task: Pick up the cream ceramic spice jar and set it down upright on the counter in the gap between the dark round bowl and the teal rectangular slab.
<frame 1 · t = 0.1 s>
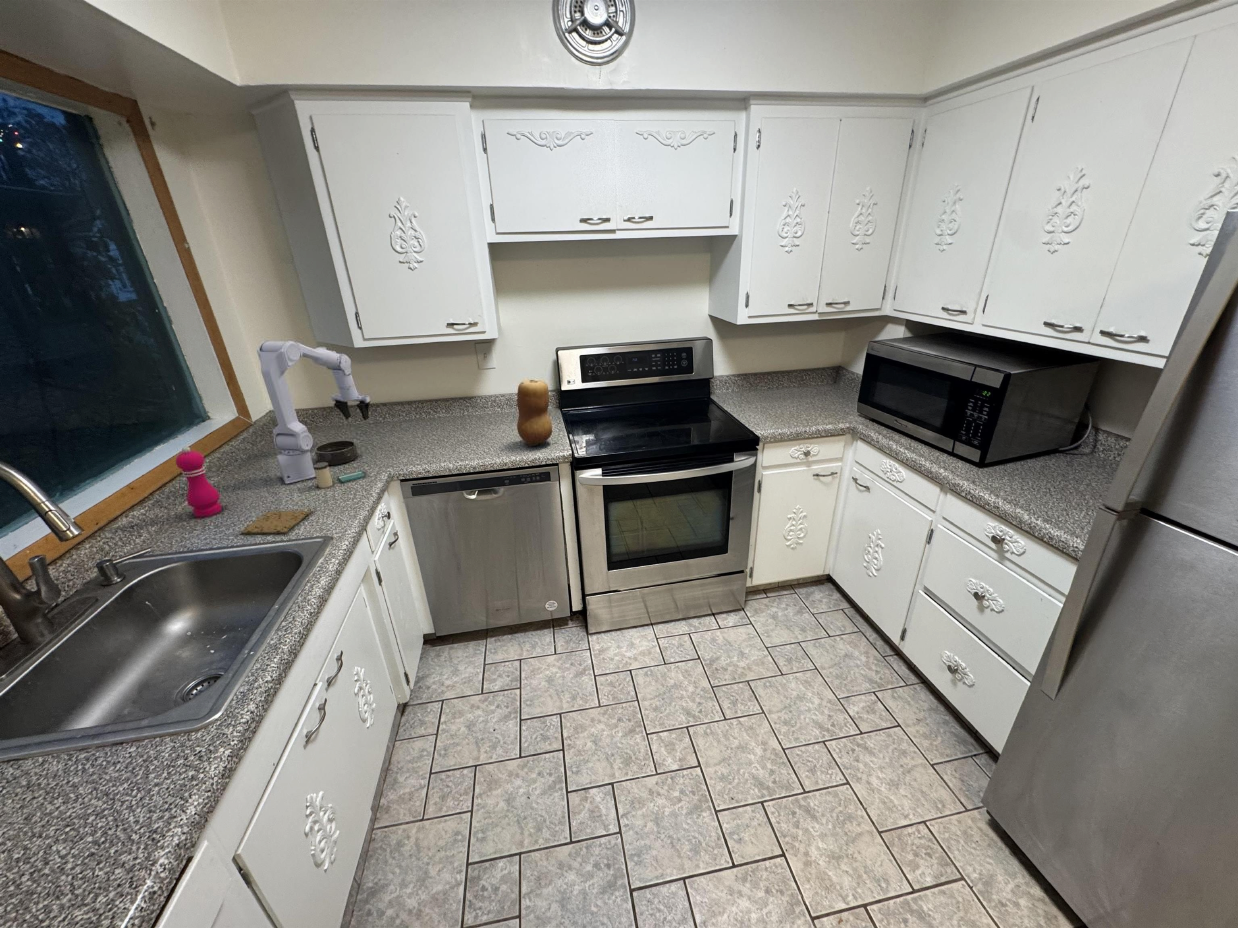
hand: (357, 418, 193), 11 cm above the countertop, tool pointing down, fingers open, 7 cm apart
brown square cork trivet: (277, 523, 138), on the countertop
pepper mill: (208, 512, 145), on the countertop
dark round bowl: (338, 459, 182), on the countertop
spice jar: (325, 485, 161), on the countertop
teal rectangular slab: (351, 477, 167), on the countertop
butternut squash: (535, 444, 196), on the countertop
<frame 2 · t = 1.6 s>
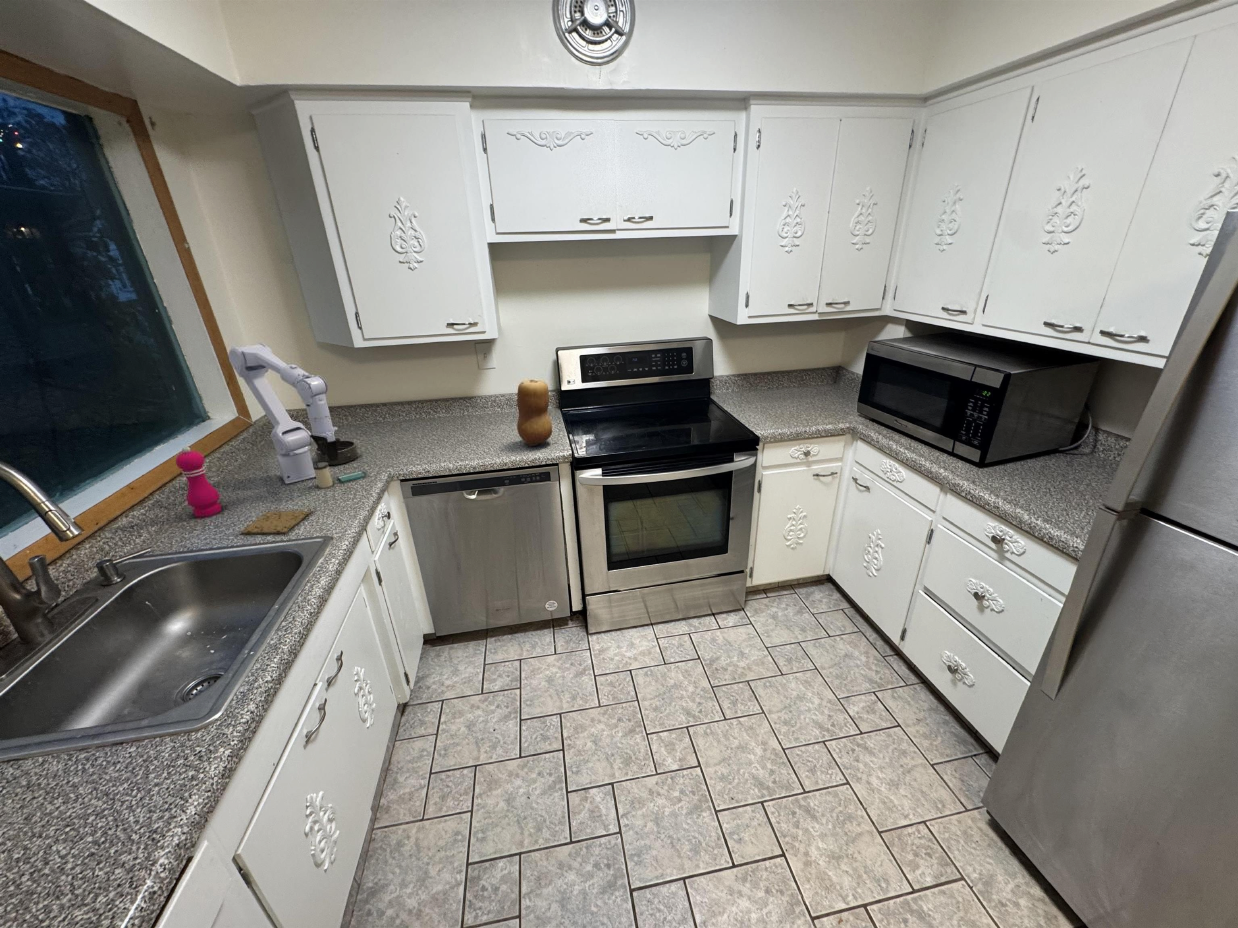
hand: (329, 457, 159), 9 cm above the countertop, tool pointing down, fingers open, 7 cm apart
nothing on the countertop moved.
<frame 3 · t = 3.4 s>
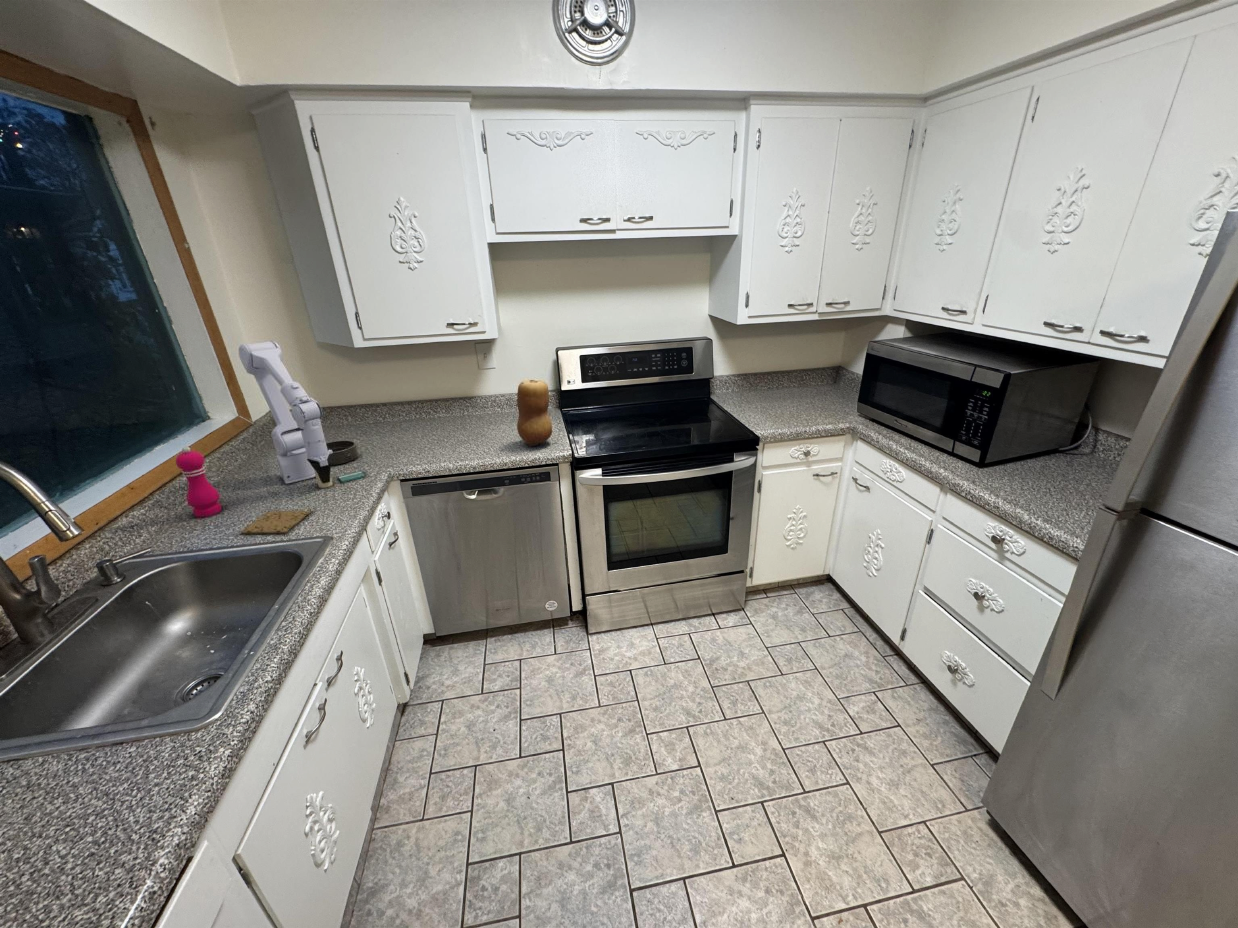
hand: (324, 480, 161), 2 cm above the countertop, tool pointing down, fingers closed on spice jar, 4 cm apart
spice jar: (325, 485, 161), on the countertop, touching gripper
everything else where it was.
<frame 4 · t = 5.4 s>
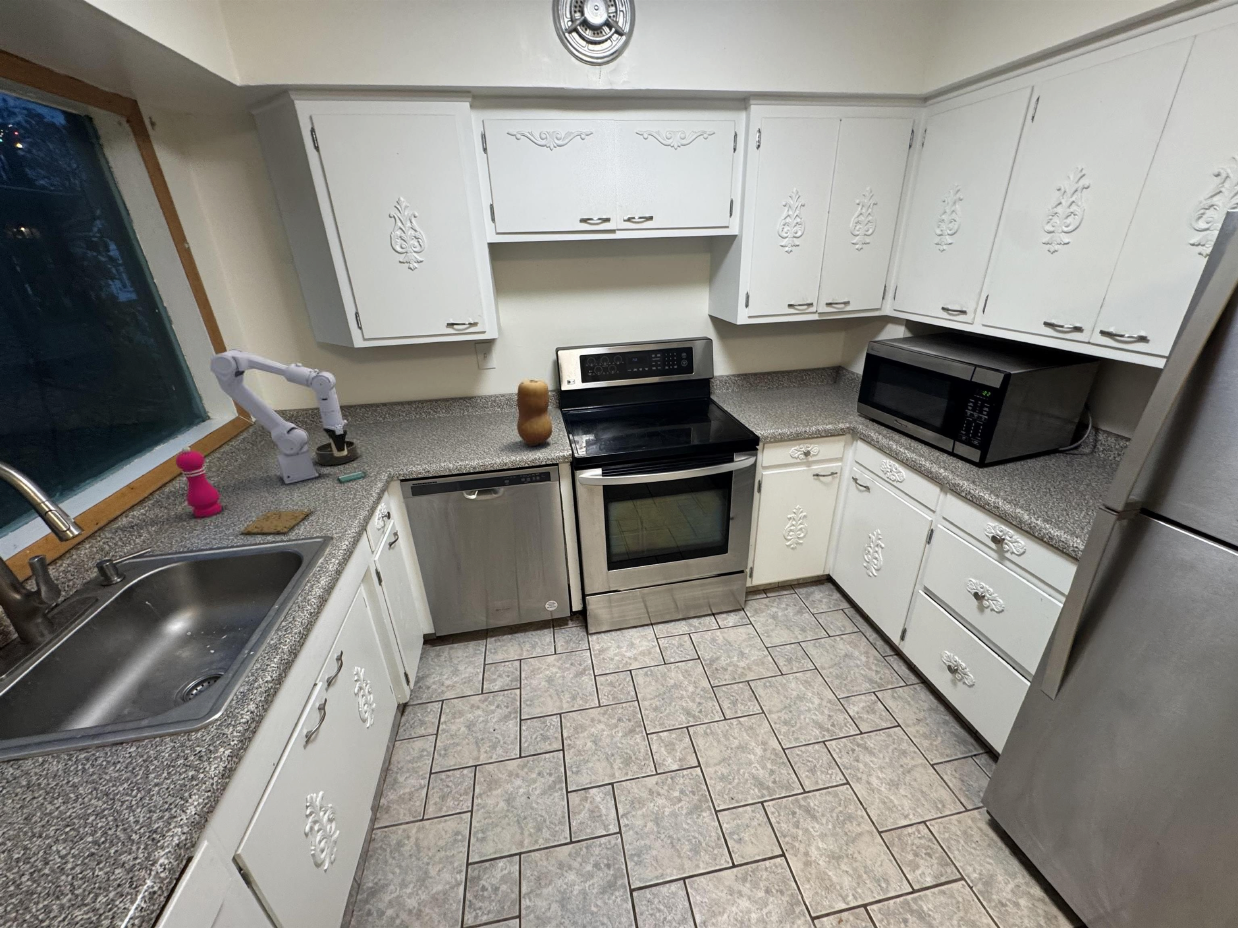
hand: (339, 449, 167), 8 cm above the countertop, tool pointing down, fingers closed on spice jar, 4 cm apart
spice jar: (340, 454, 168), point 7 cm above the countertop, touching gripper
everything else where it was.
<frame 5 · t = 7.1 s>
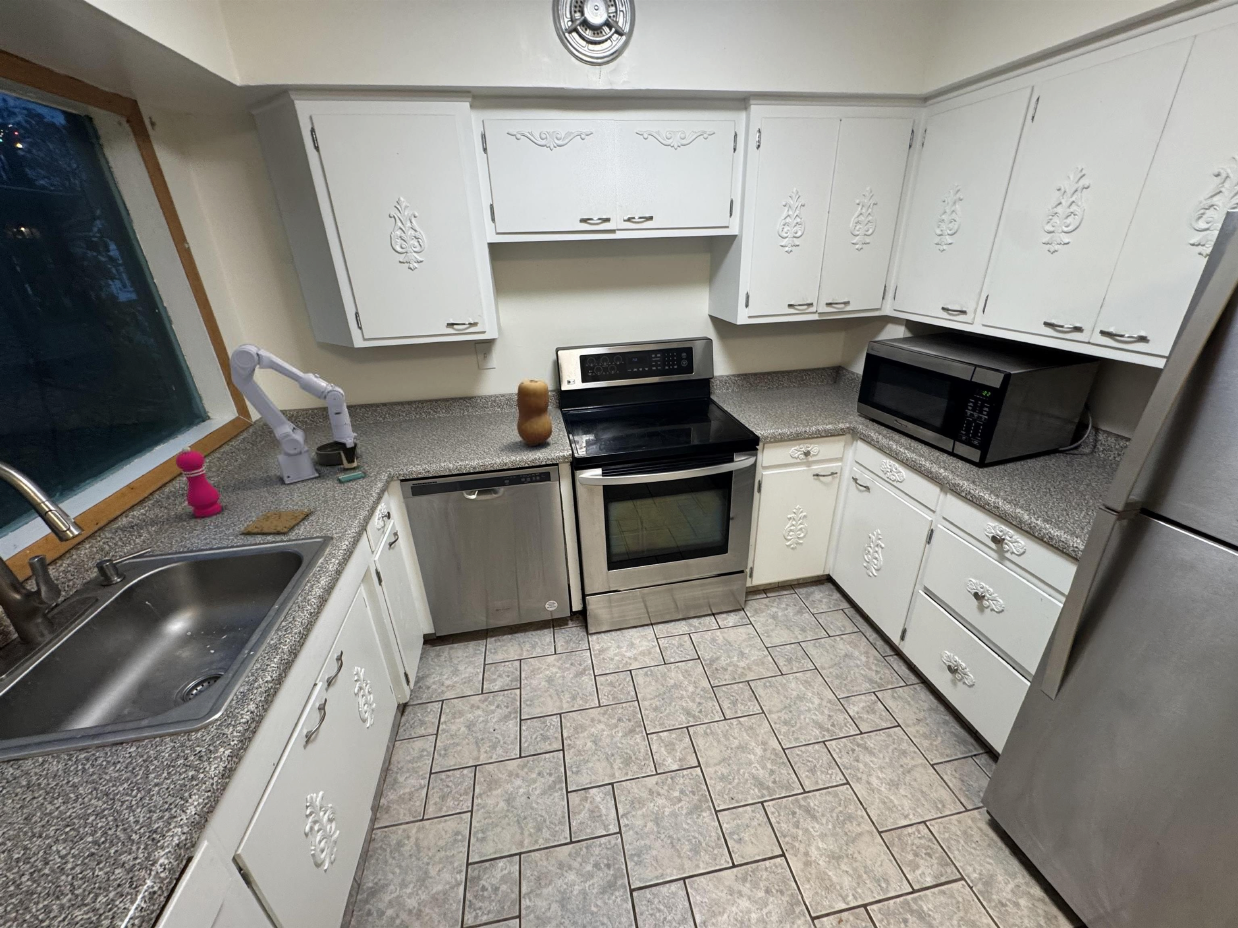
hand: (349, 461, 173), 3 cm above the countertop, tool pointing down, fingers closed on spice jar, 4 cm apart
spice jar: (350, 465, 174), point 1 cm above the countertop, touching gripper
everything else where it was.
when the fingers open (2 cm above the countertop, at t = 7.8 s): spice jar stays where it is, on the countertop.
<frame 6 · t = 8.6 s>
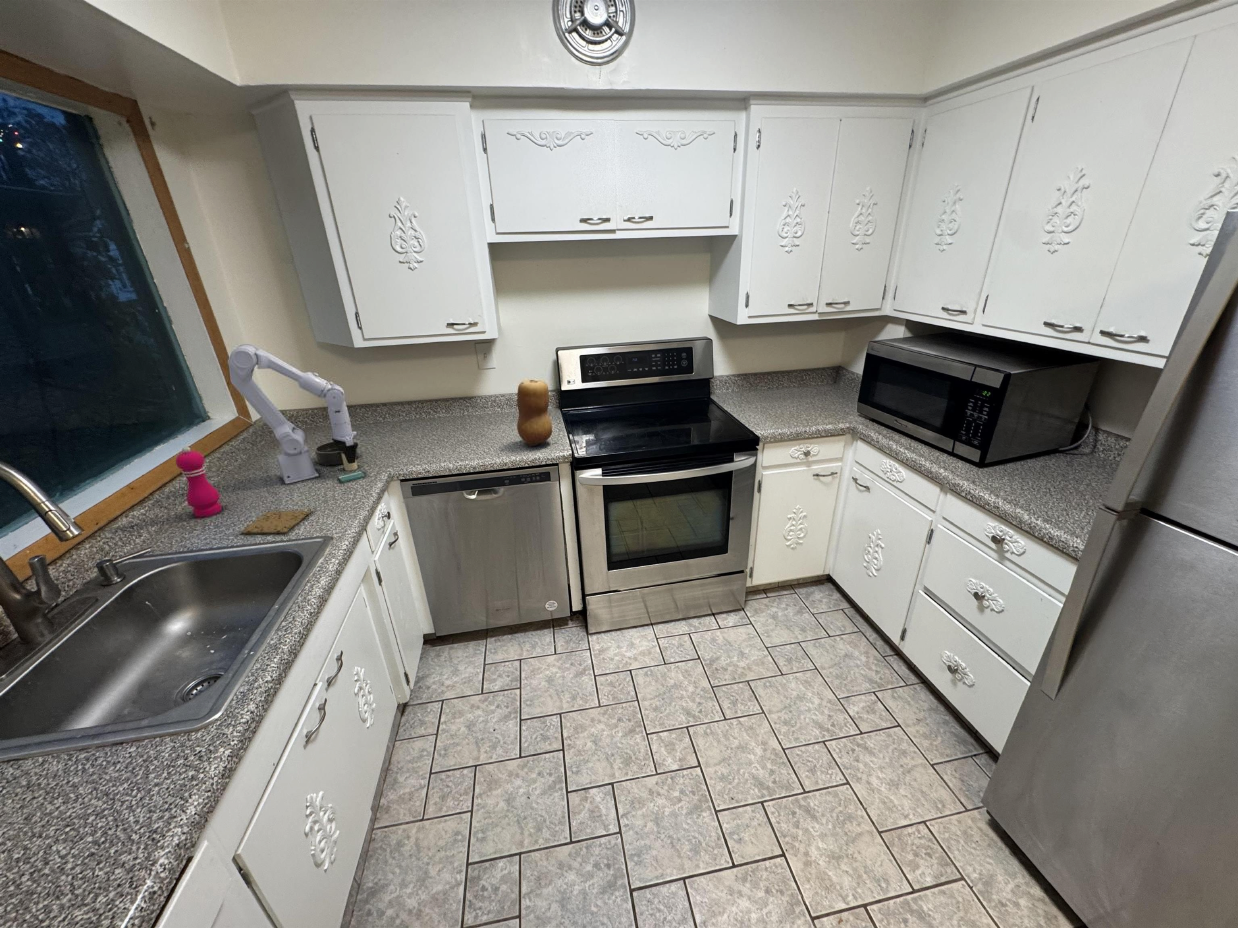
hand: (348, 459, 173), 3 cm above the countertop, tool pointing down, fingers open, 7 cm apart
spice jar: (351, 468, 174), on the countertop
everything else where it was.
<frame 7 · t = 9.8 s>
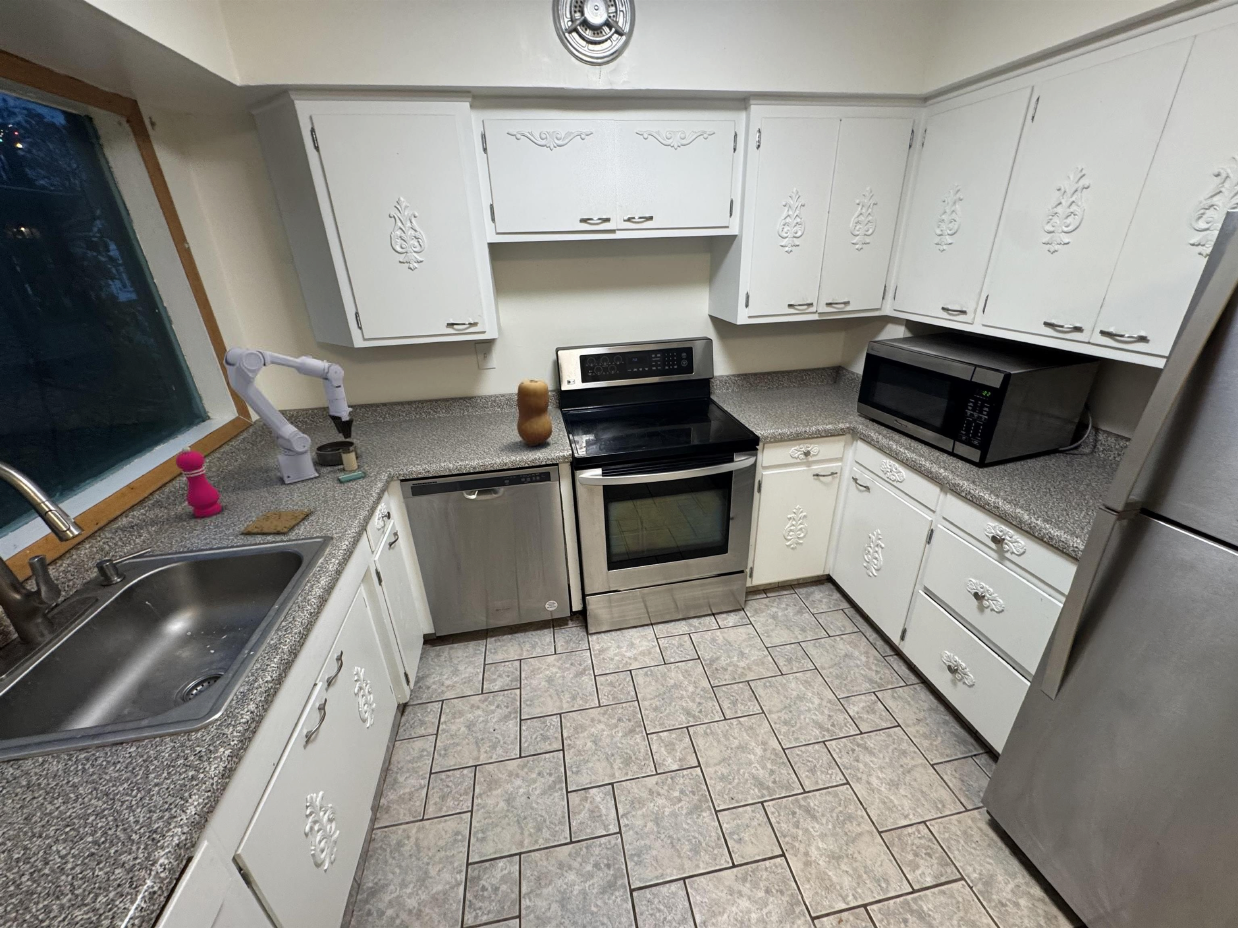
hand: (344, 435, 178), 9 cm above the countertop, tool pointing down, fingers open, 7 cm apart
nothing on the countertop moved.
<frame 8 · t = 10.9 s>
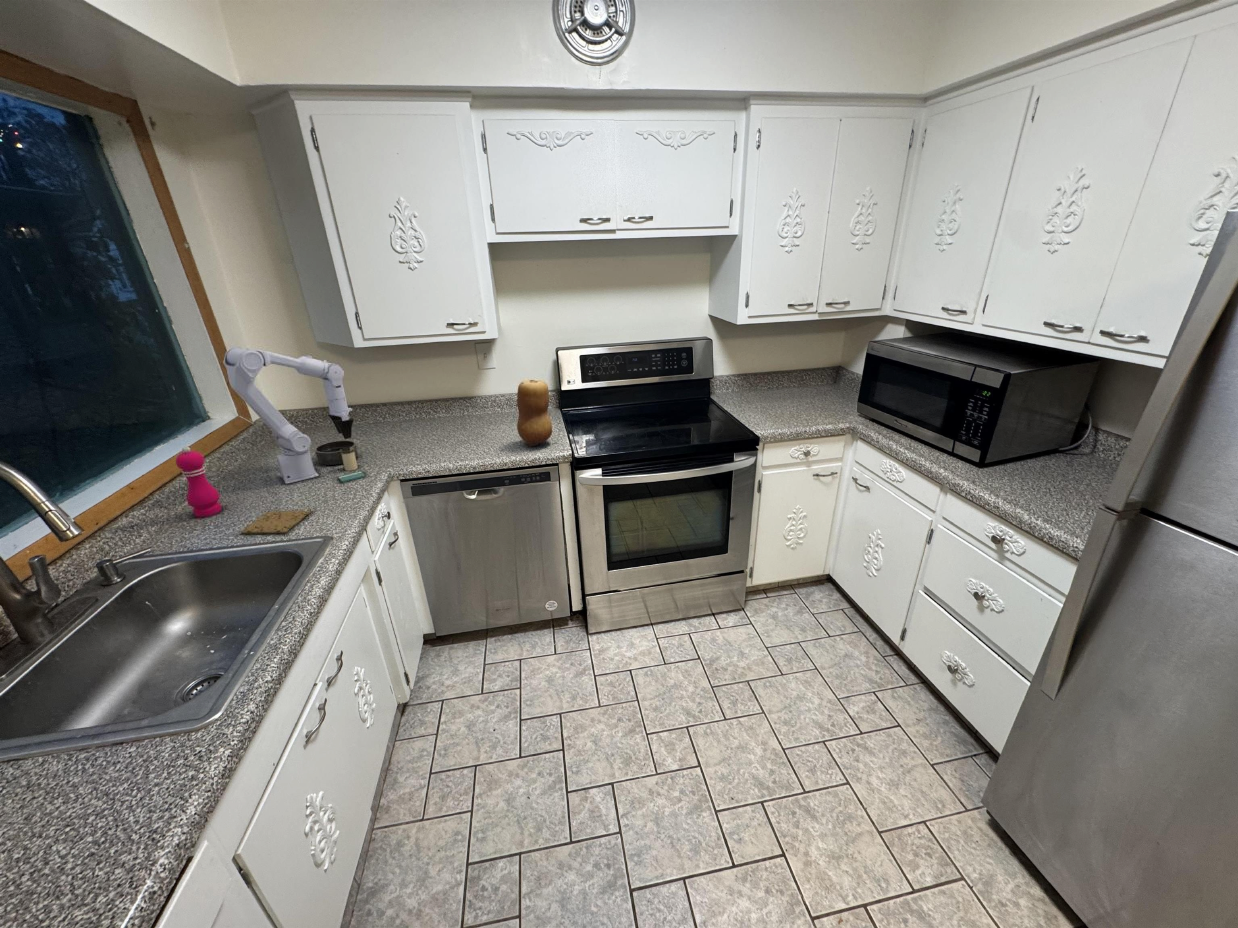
hand: (344, 435, 178), 9 cm above the countertop, tool pointing down, fingers open, 7 cm apart
nothing on the countertop moved.
at the end: spice jar 0.1 cm from the target spot on the countertop beside the dark round bowl, on the countertop; spice jar tilted 0°; spice jar touching countertop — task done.
